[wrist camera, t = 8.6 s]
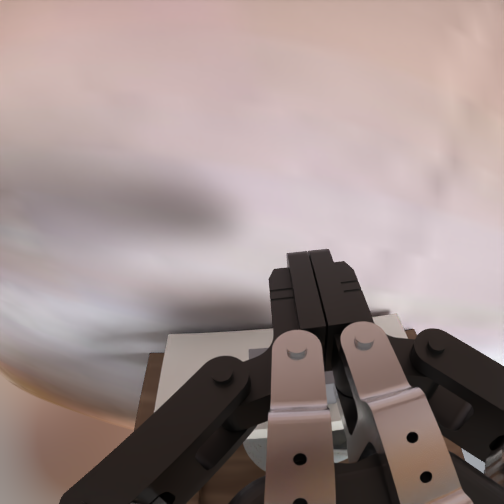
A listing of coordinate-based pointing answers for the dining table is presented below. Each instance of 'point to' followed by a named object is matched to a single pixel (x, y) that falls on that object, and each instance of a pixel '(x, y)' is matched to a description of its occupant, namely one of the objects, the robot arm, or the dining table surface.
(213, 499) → the brown wooden small table
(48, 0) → the dining table surface
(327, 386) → the pull-out front
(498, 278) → the dining table surface
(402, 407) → the robot arm
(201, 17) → the dining table surface
